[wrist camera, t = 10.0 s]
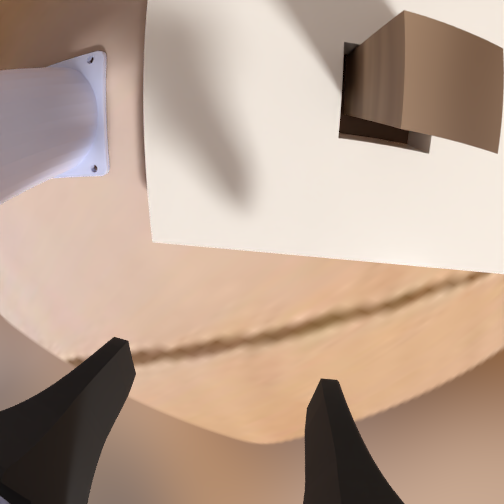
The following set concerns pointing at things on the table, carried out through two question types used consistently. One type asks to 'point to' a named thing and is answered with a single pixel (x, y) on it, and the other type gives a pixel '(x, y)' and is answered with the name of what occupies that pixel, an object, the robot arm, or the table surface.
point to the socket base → (305, 139)
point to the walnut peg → (428, 81)
